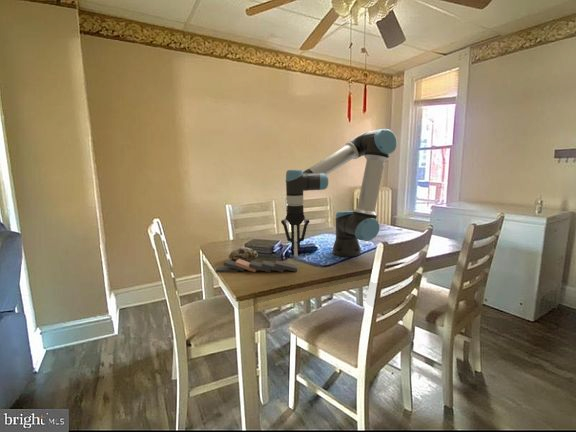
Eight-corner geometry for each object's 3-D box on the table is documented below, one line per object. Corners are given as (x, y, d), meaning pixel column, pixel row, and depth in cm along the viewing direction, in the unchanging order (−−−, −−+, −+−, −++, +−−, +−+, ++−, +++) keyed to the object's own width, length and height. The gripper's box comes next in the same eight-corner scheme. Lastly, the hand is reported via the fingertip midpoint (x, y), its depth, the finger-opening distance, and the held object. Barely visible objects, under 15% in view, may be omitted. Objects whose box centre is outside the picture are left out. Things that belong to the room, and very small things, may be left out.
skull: (256, 272, 151) (248, 262, 144) (231, 267, 159) (221, 257, 152) (264, 256, 156) (256, 245, 149) (238, 252, 164) (230, 242, 157)
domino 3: (258, 265, 144) (239, 258, 145) (255, 269, 139) (235, 261, 140) (257, 268, 144) (238, 261, 146) (254, 272, 140) (234, 265, 141)
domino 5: (284, 265, 144) (263, 260, 143) (284, 269, 139) (262, 263, 138) (283, 268, 144) (262, 263, 143) (283, 272, 139) (261, 267, 138)
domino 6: (296, 265, 144) (276, 260, 143) (297, 268, 139) (276, 263, 138) (295, 268, 144) (275, 263, 143) (296, 271, 139) (275, 267, 138)
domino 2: (248, 265, 145) (228, 259, 147) (244, 268, 140) (224, 262, 142) (247, 268, 145) (228, 262, 147) (243, 271, 141) (223, 265, 142)
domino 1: (239, 266, 145) (219, 266, 146) (237, 270, 140) (215, 270, 141) (240, 270, 146) (219, 269, 147) (237, 273, 141) (216, 273, 142)
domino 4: (271, 265, 144) (251, 260, 143) (271, 269, 139) (249, 263, 138) (270, 268, 144) (250, 263, 144) (270, 272, 139) (248, 267, 139)
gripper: (309, 203, 140) (309, 253, 144) (280, 203, 140) (282, 253, 144) (309, 205, 132) (310, 258, 136) (279, 206, 133) (281, 258, 137)
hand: (295, 255), depth 140 cm, fingers closed
